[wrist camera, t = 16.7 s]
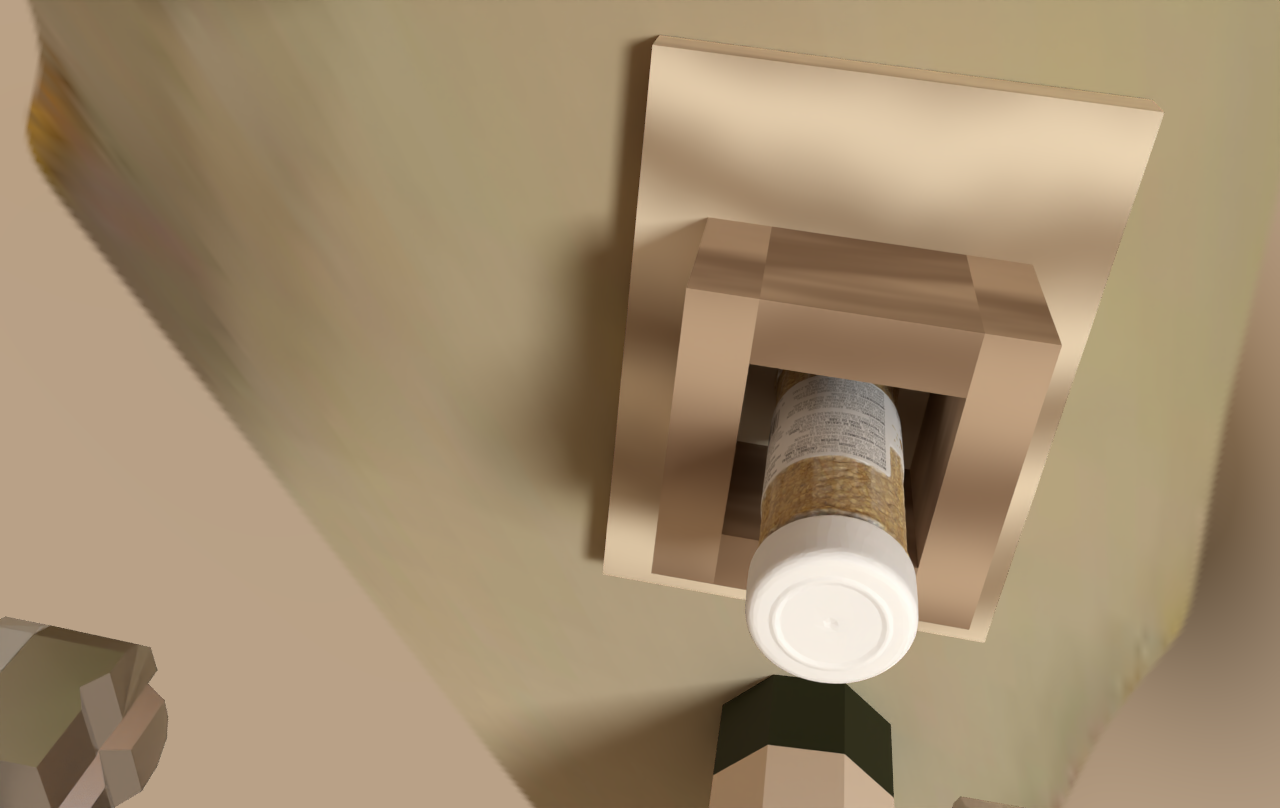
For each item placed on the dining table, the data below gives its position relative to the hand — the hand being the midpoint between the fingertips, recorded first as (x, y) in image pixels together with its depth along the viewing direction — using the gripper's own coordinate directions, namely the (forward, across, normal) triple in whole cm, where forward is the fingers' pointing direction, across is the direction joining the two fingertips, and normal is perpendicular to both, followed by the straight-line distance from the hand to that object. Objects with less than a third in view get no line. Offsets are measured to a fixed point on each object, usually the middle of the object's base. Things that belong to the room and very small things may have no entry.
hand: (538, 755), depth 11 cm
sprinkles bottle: (+28, -5, +12) cm, 31 cm away
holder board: (+29, -5, +12) cm, 32 cm away
